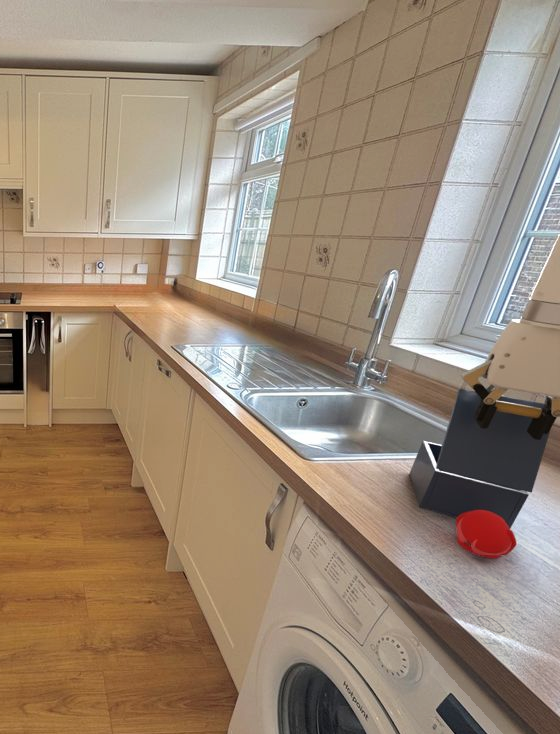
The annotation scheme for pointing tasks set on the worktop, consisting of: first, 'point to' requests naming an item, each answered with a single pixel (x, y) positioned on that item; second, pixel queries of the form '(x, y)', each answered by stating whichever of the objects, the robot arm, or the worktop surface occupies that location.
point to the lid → (493, 442)
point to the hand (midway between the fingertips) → (507, 429)
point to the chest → (460, 489)
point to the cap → (484, 534)
